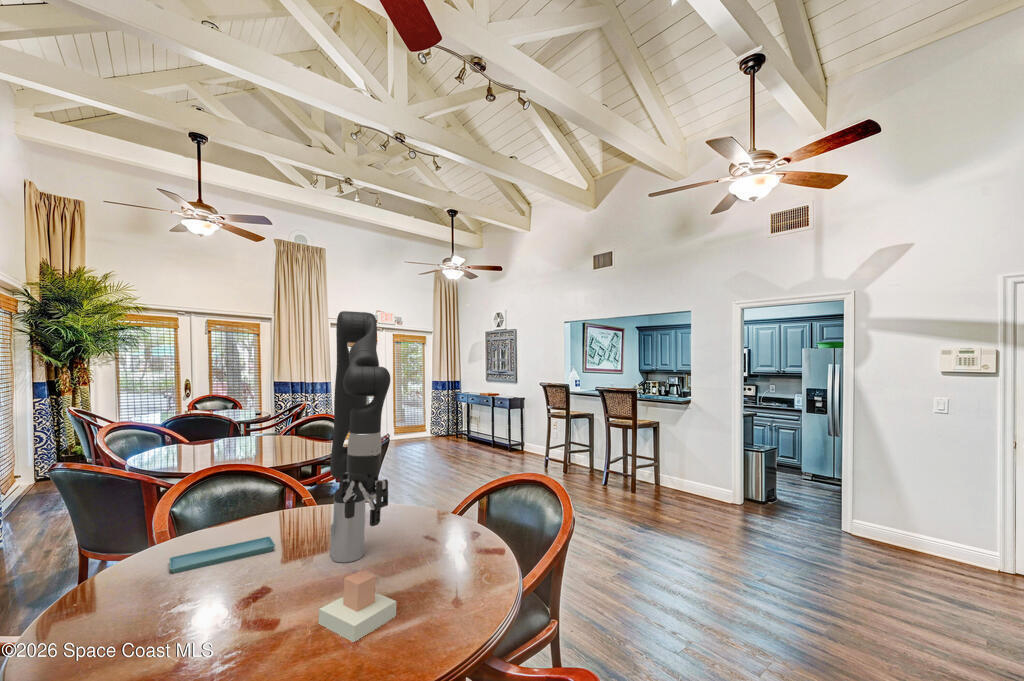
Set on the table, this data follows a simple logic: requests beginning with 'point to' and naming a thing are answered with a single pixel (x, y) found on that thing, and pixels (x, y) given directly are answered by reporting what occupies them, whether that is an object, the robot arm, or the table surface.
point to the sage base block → (357, 617)
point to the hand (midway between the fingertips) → (361, 521)
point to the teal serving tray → (221, 554)
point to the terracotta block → (359, 590)
